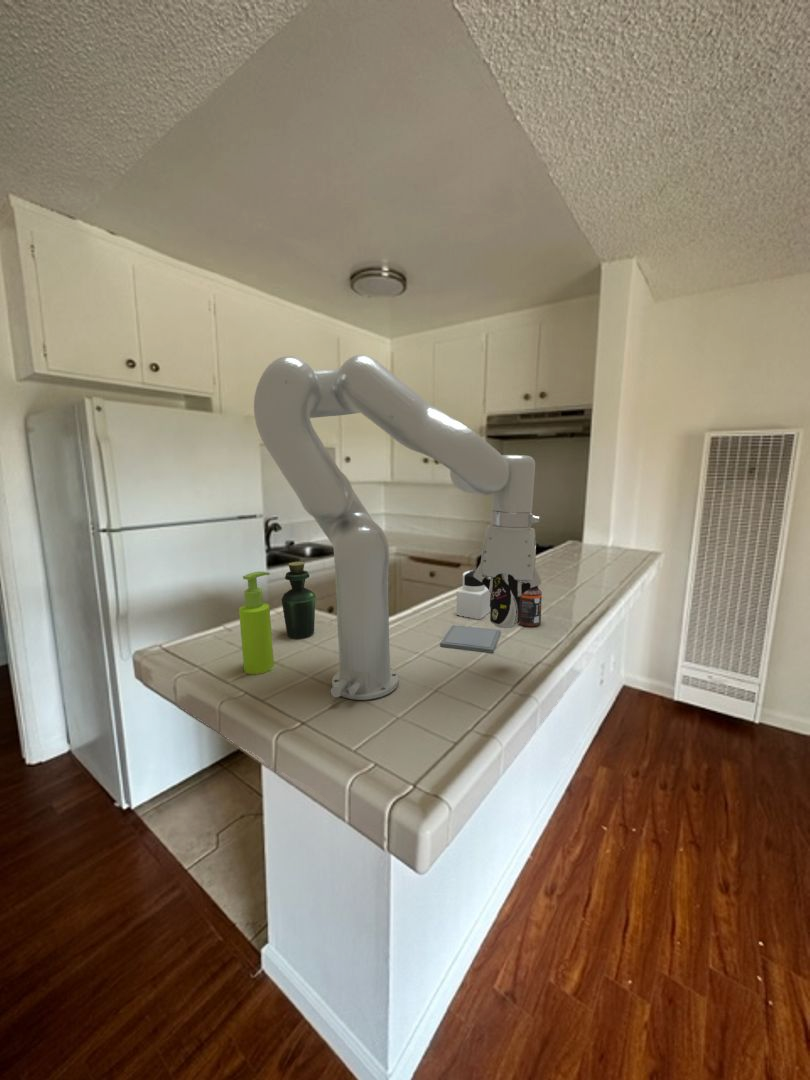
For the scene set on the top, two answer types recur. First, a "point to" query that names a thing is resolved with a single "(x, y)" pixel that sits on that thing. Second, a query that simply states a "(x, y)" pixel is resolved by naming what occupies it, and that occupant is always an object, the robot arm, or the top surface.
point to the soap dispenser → (256, 629)
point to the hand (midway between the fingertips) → (504, 611)
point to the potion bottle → (298, 604)
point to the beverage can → (505, 601)
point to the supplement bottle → (530, 607)
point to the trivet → (471, 638)
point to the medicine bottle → (473, 597)
